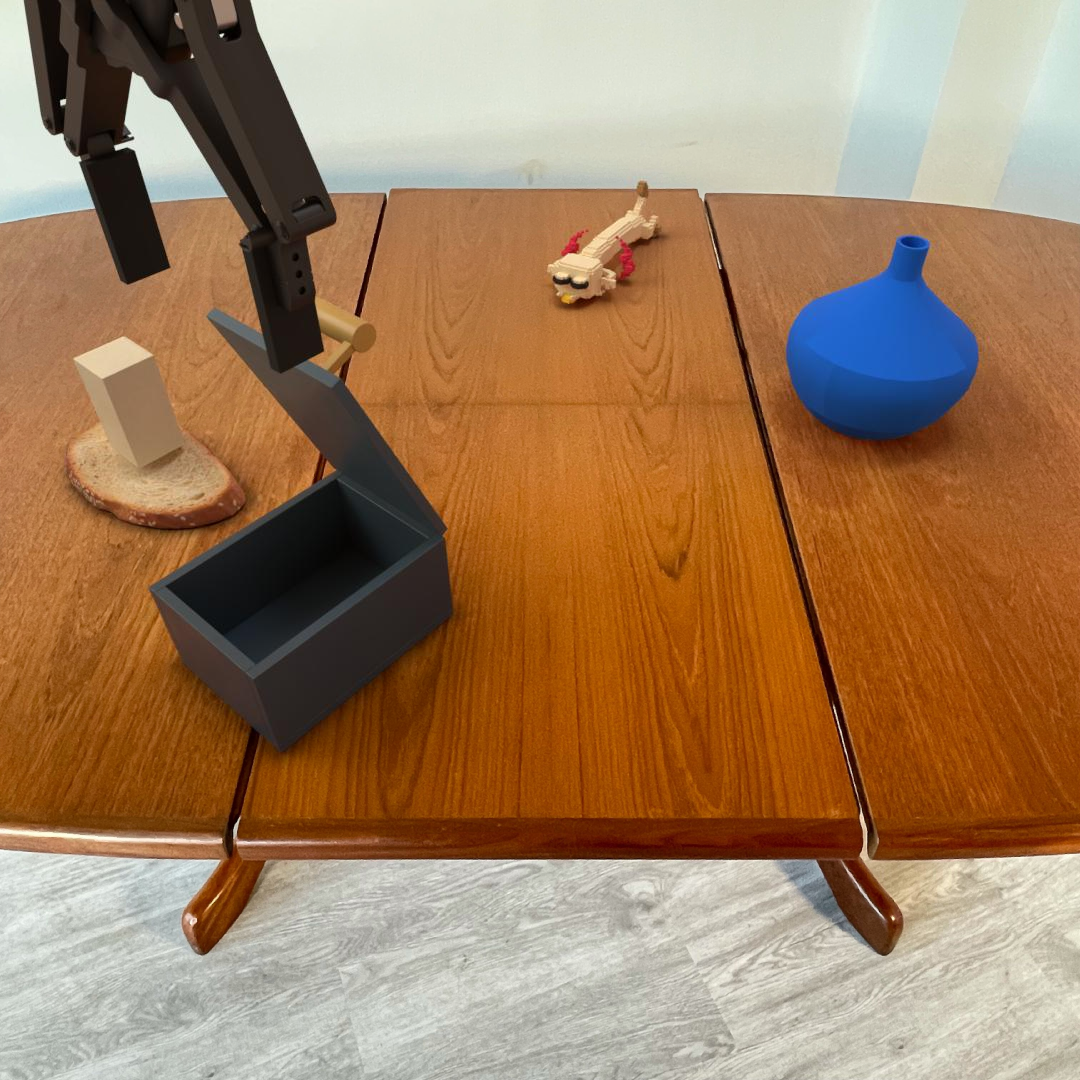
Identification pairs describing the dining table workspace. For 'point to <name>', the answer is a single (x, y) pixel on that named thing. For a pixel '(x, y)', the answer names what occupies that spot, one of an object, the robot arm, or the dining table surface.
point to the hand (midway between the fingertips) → (216, 314)
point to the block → (130, 400)
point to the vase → (882, 352)
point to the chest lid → (334, 408)
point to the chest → (306, 605)
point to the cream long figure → (602, 254)
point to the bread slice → (154, 482)
